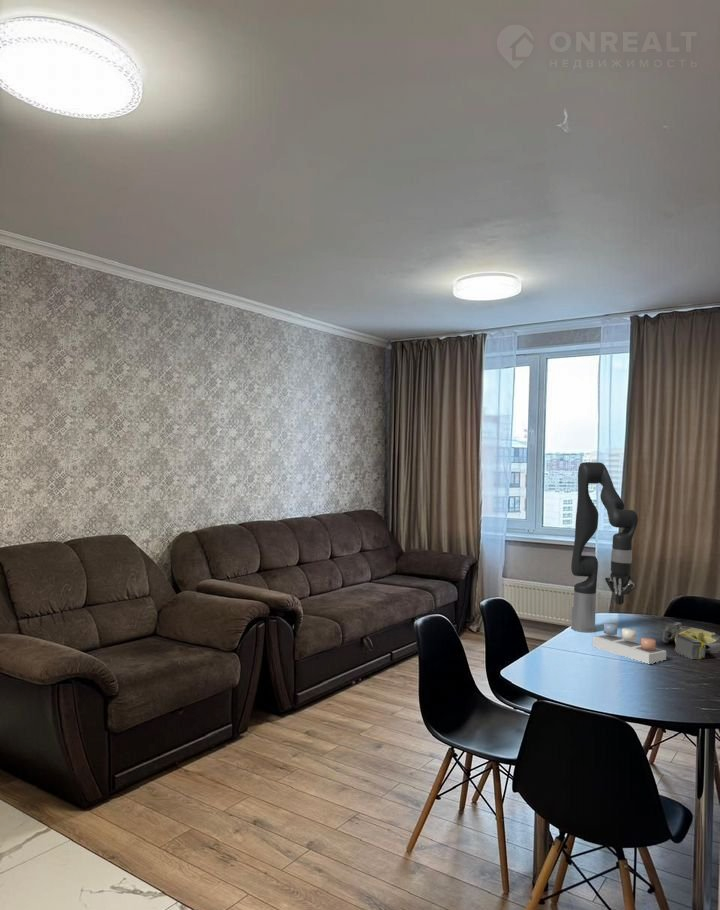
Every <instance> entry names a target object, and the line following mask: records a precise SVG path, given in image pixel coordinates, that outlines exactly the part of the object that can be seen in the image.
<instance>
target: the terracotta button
mask: <svg viewBox="0 0 720 910" xmlns="http://www.w3.org/2000/svg"><path fill="white" fill-rule="evenodd" d="M640 639H641V640H640V643H641V649H643V650H647V651H655V650H656V648H657V647H656V646H657V639H655V638H651V637H650V638H649V637H641V638H640Z"/></svg>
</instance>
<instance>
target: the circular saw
mask: <svg viewBox="0 0 720 910" xmlns="http://www.w3.org/2000/svg"><path fill="white" fill-rule="evenodd" d="M673 640H674V644H675V648H674V651H675V653H676V652H677V653H676V654H678V653H679V654H678V655H680V654H681V656H682V655H684V656H685V658H686V657H688V658H687V659H689V658H690V659H689V660H691V659H703V658H704V659H705V657H706V653H716V652H720V635H718V634H717V633H715V632H711V631H708V630H704V629H703V628H697V627H696V628H695V627H691V626H686V625H684V626H682V622H678V621H676V622H673V623H669V624H666V625H665V627H664V628H663V630H662V636H661V641H662V642H663V643H664V644H665V643H666V645H668V644H670V643H671V642H672V641H673ZM670 641H671V642H670ZM684 656H683V657H684Z"/></svg>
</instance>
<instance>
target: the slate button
mask: <svg viewBox="0 0 720 910" xmlns="http://www.w3.org/2000/svg"><path fill="white" fill-rule="evenodd" d="M603 633H604V635H607V634H608V635H615V636H618V624H616V623H613V622H605V623H604V624H603Z"/></svg>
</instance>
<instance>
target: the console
mask: <svg viewBox="0 0 720 910" xmlns="http://www.w3.org/2000/svg"><path fill="white" fill-rule="evenodd" d="M592 639H593V640H592V647H593V648H597V649H599V650H602V651H605V652H608V653H611V654H615V655H618V656H621V657H622V656H625V657H624V658H626V657H628V658H627V659H629V658H631V659H630V660H633V659H635V660H634V661H636V660H638V661H637V662H640V661H642V662H641V663H643V662H645V663H648V664H650V663H655V662H656V663H660V662H659V661H661V662H664V661H663V660H666V661H667V650H664V649H661V648H657V647H656V650H655V651H647V650H643V649H641V642H638V641H636V640H635V641H628V640H624V639H622V636H618V635H608V634H601V635H596V636H593V638H592Z"/></svg>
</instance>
